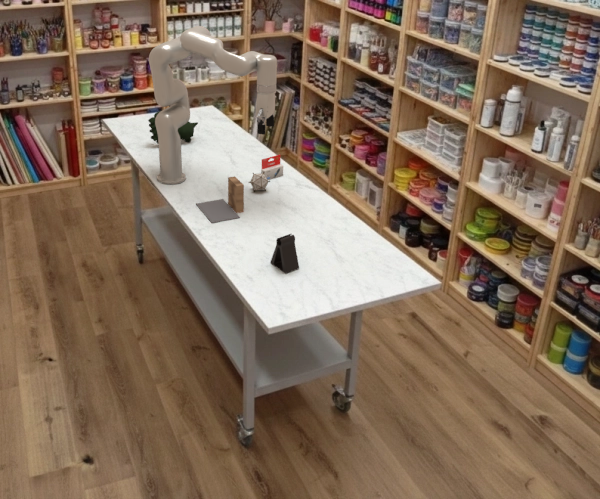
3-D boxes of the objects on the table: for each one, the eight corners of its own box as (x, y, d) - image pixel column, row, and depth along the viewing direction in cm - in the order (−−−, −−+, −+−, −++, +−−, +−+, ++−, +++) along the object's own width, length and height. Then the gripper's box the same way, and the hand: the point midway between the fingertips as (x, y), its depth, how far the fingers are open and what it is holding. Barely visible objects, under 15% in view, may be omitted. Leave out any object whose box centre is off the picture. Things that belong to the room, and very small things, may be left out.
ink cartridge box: (283, 175, 318) (284, 155, 314) (264, 181, 312) (264, 161, 307) (279, 174, 320) (280, 154, 315) (260, 179, 313) (261, 159, 309)
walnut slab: (228, 204, 291) (228, 177, 285) (234, 202, 292) (234, 176, 286) (236, 213, 284) (236, 186, 278) (243, 211, 285) (243, 184, 279)
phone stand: (270, 263, 251) (271, 233, 245) (283, 258, 254) (284, 229, 248) (285, 273, 245) (287, 244, 239) (299, 268, 248) (300, 239, 243)
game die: (261, 199, 304) (266, 188, 295) (244, 190, 304) (247, 179, 295) (270, 183, 308) (274, 172, 299) (252, 175, 308) (256, 163, 299)
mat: (195, 204, 289) (195, 203, 288) (223, 199, 294) (222, 198, 294) (211, 223, 275) (211, 222, 275) (240, 218, 280) (240, 217, 280)
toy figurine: (158, 154, 337) (204, 141, 349) (152, 117, 327) (200, 105, 338) (149, 148, 344) (195, 135, 355) (144, 111, 333) (191, 99, 345)
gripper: (265, 81, 280) (264, 122, 288) (249, 92, 265) (248, 135, 274) (283, 83, 278) (281, 124, 286) (267, 95, 263) (266, 138, 272)
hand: (265, 130), depth 280 cm, fingers open, 9 cm apart
